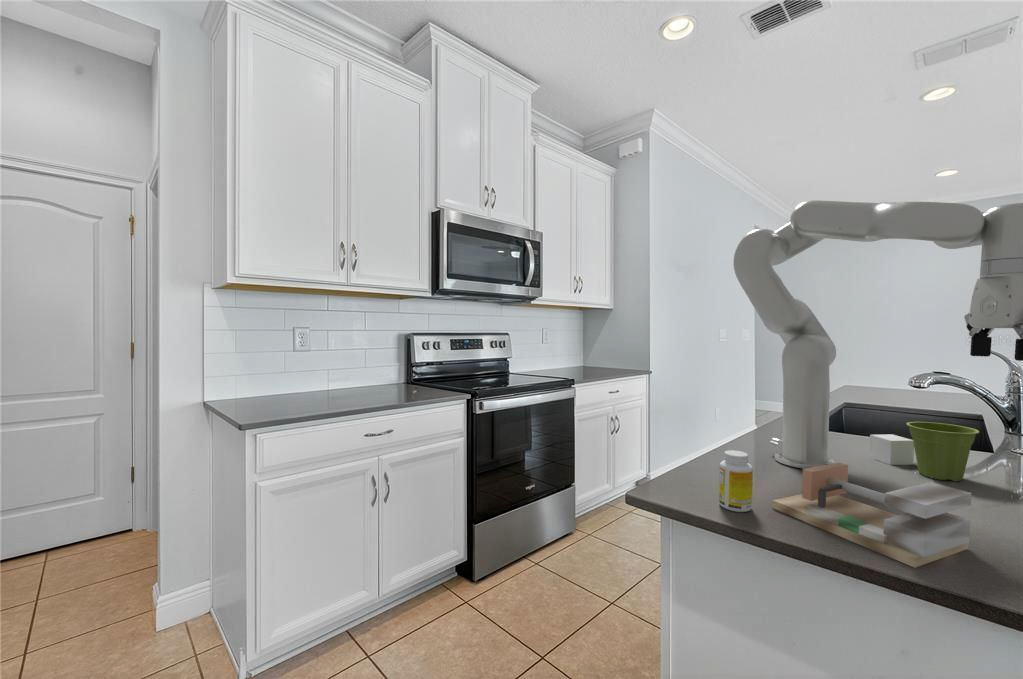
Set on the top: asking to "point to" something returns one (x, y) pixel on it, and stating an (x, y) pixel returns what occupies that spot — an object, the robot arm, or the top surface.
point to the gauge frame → (893, 521)
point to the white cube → (892, 449)
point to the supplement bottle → (735, 482)
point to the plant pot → (941, 449)
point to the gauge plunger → (833, 484)
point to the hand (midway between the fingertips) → (1001, 358)
